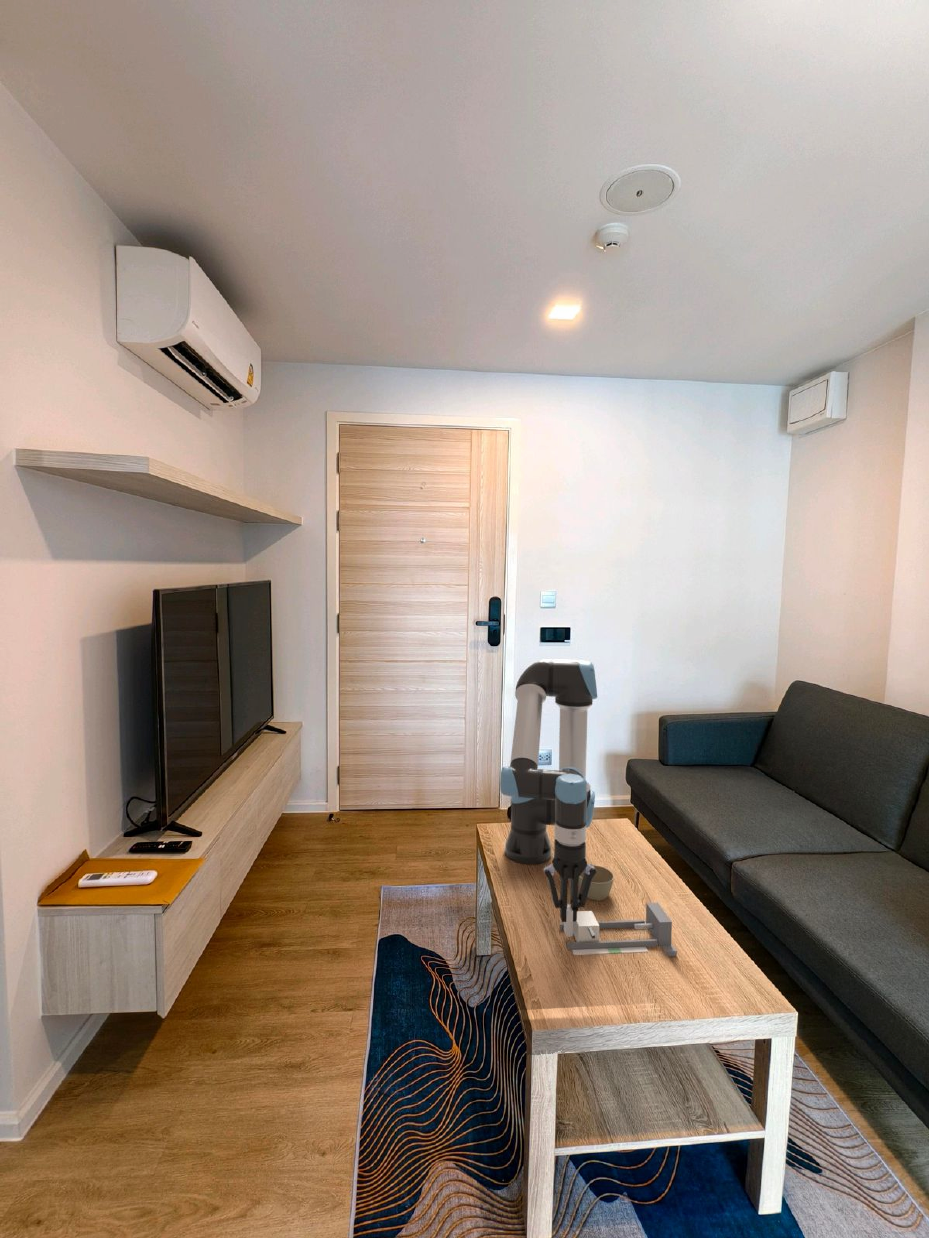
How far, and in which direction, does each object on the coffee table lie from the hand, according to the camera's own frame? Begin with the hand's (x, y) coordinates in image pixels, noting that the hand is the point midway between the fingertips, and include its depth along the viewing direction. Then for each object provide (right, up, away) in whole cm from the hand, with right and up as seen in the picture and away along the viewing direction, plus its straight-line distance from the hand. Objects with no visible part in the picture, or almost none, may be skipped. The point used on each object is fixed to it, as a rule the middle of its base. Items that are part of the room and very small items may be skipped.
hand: (568, 932), depth 135 cm
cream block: (+4, -2, -1) cm, 5 cm away
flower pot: (+11, -2, +20) cm, 23 cm away
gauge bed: (+11, -3, +1) cm, 11 cm away
